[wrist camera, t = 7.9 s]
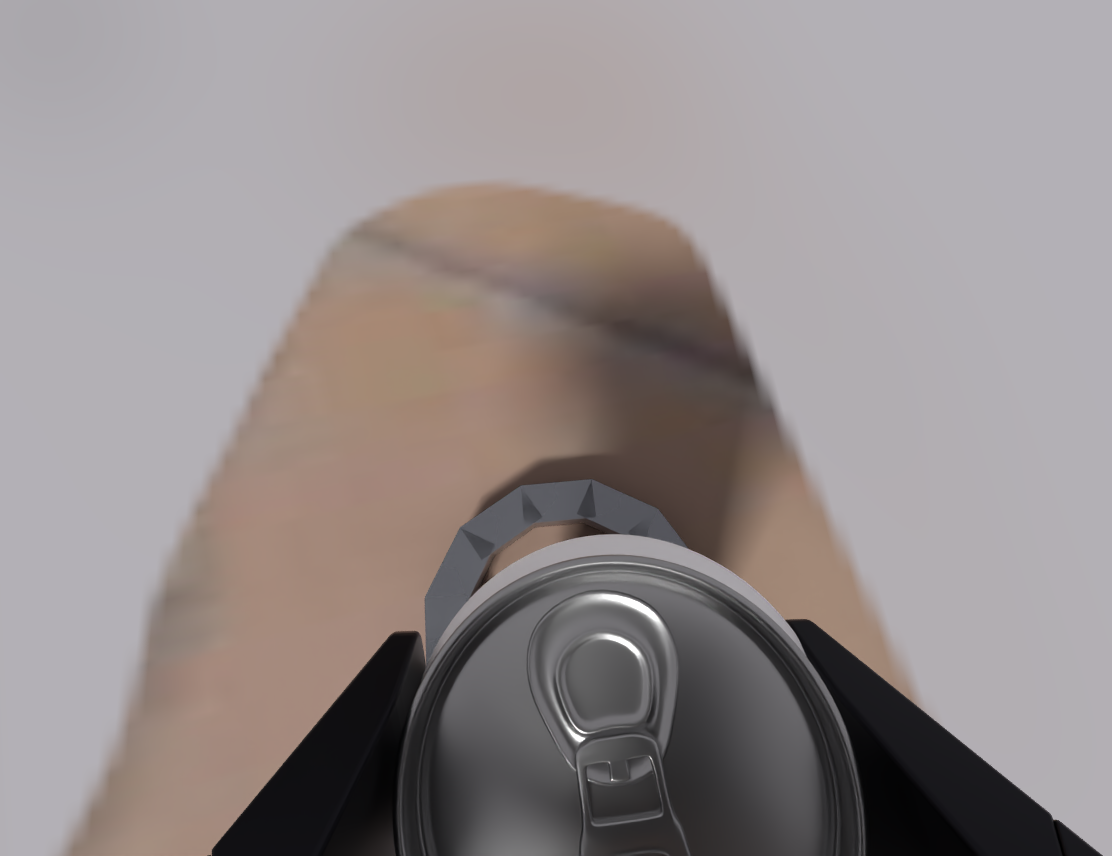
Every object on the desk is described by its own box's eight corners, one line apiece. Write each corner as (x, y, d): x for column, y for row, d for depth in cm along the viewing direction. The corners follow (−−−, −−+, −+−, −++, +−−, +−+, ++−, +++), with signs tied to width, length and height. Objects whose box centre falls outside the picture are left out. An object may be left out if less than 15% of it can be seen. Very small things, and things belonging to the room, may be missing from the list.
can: (688, 542, 19) (815, 483, 7) (735, 752, 17) (1007, 1121, 5) (504, 573, 19) (343, 564, 7) (531, 782, 17) (374, 1196, 6)
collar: (724, 756, 20) (738, 769, 19) (438, 790, 20) (430, 805, 18) (678, 477, 23) (687, 470, 22) (429, 500, 23) (422, 494, 21)
